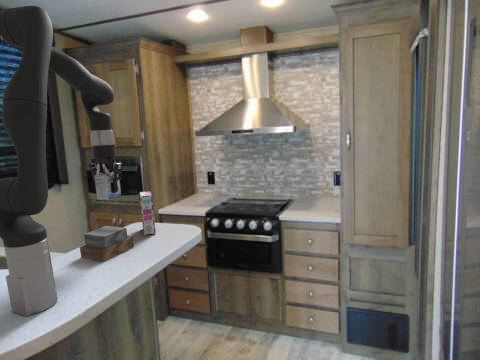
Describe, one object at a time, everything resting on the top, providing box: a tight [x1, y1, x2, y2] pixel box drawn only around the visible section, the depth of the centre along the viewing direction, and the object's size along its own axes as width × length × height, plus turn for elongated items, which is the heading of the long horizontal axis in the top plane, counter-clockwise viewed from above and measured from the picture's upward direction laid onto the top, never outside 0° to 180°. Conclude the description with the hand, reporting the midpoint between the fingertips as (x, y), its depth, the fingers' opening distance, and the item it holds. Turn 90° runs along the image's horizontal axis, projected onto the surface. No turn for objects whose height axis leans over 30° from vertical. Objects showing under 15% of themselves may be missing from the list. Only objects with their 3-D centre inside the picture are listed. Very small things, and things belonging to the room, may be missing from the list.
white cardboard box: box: [139, 190, 156, 237], centre depth 143 cm, size 11×5×16 cm, turn 17°
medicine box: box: [94, 172, 122, 201], centre depth 119 cm, size 8×4×9 cm, turn 167°
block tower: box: [79, 225, 135, 262], centre depth 122 cm, size 14×11×8 cm
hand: (108, 192), depth 120 cm, fingers closed on medicine box, 5 cm apart
